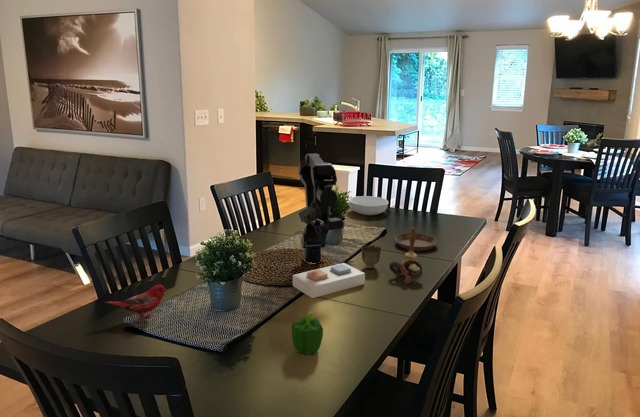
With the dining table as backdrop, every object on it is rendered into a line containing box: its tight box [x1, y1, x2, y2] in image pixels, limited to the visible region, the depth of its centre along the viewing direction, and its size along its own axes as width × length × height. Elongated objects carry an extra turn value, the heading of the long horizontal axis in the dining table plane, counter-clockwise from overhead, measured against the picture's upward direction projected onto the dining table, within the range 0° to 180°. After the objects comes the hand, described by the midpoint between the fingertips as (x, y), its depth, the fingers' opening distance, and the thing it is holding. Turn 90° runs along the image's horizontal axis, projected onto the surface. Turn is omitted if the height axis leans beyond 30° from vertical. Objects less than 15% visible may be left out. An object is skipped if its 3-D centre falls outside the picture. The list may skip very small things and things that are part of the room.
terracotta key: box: [306, 269, 328, 282], centre depth 173 cm, size 5×5×3 cm
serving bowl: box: [348, 195, 389, 216], centre depth 270 cm, size 21×21×7 cm
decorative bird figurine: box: [104, 283, 169, 318], centre depth 149 cm, size 3×18×10 cm, turn 107°
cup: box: [360, 244, 382, 270], centre depth 192 cm, size 8×7×8 cm
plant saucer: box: [394, 232, 438, 252], centre depth 220 cm, size 18×18×3 cm
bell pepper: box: [291, 311, 324, 355], centre depth 133 cm, size 8×8×10 cm
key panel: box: [292, 262, 366, 299], centre depth 176 cm, size 12×22×4 cm, turn 125°
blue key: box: [331, 263, 351, 276], centre depth 178 cm, size 5×5×3 cm
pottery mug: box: [388, 259, 424, 284], centre depth 183 cm, size 12×10×8 cm
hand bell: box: [402, 227, 420, 272], centre depth 192 cm, size 8×8×16 cm
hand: (321, 242), depth 181 cm, fingers closed
